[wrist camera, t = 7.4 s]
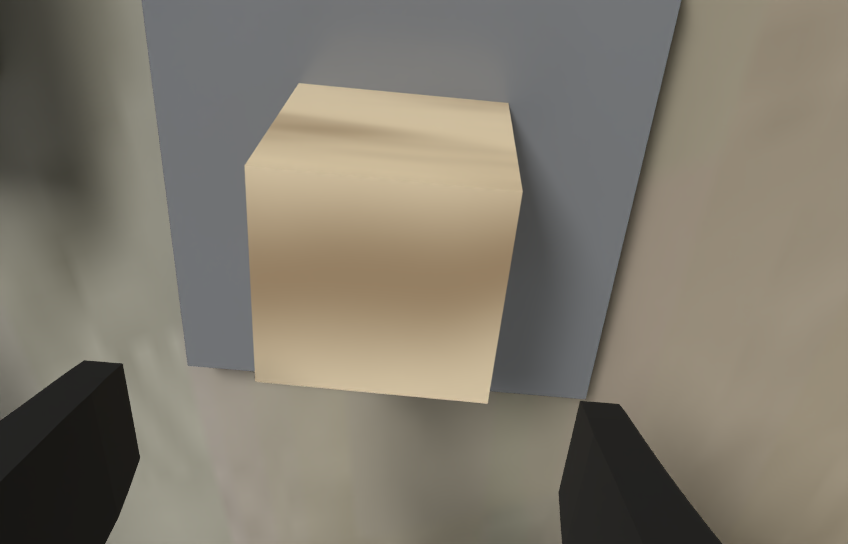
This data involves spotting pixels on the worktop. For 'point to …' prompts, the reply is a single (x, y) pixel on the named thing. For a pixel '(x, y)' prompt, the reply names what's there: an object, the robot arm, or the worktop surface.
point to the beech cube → (381, 241)
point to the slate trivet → (425, 75)
